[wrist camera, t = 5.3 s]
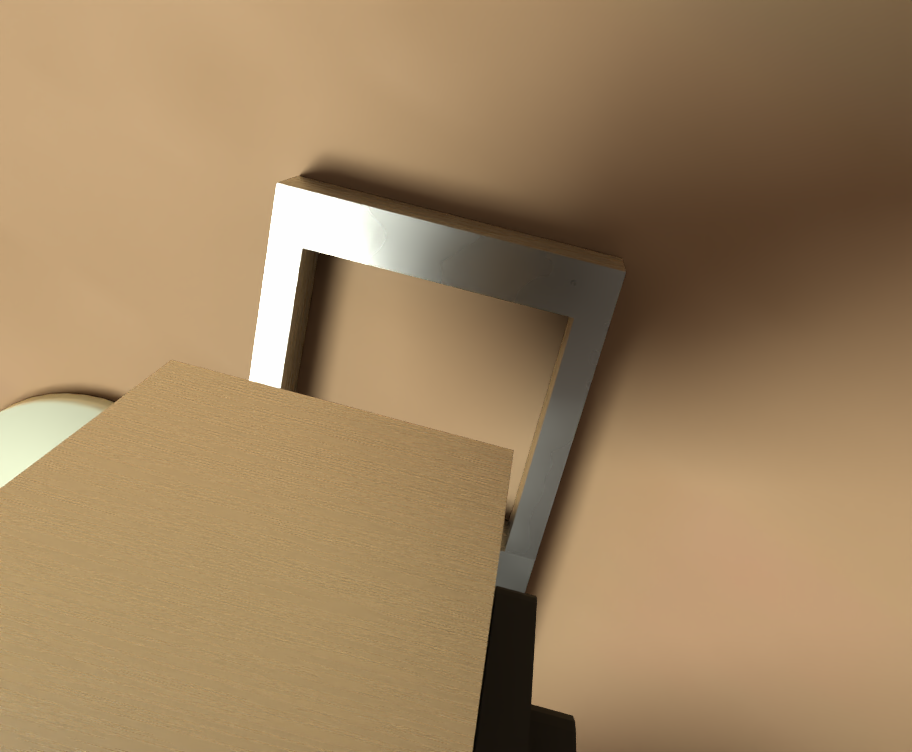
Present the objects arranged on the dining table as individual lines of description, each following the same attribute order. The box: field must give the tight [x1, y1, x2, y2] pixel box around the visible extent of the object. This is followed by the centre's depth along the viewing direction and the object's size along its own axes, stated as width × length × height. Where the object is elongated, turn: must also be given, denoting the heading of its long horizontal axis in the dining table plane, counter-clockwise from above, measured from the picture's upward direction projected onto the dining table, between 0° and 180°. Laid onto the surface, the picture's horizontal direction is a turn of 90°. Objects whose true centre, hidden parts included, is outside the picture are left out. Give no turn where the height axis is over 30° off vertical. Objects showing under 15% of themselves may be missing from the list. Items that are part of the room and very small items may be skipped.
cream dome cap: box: [0, 393, 115, 488], centre depth 23 cm, size 8×8×1 cm
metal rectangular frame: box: [249, 176, 626, 593], centre depth 21 cm, size 14×8×2 cm, turn 167°
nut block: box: [0, 360, 514, 752], centre depth 9 cm, size 5×5×7 cm
